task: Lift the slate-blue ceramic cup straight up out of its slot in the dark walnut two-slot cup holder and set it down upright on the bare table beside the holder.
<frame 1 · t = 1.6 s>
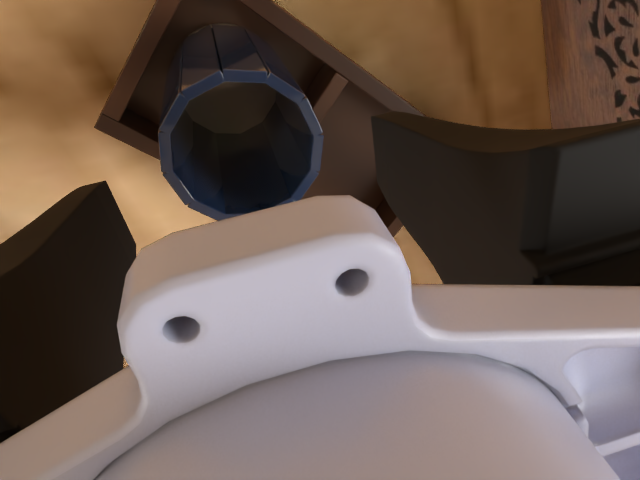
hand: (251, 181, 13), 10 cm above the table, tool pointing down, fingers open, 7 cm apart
cup: (227, 83, 21), resting on cup holder
cup holder: (290, 120, 23), on the table
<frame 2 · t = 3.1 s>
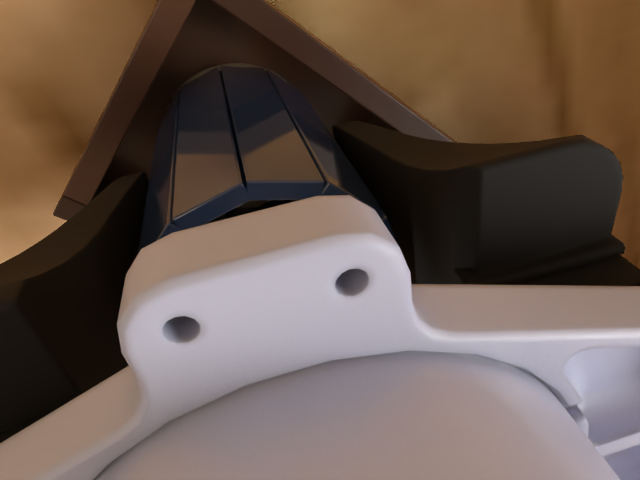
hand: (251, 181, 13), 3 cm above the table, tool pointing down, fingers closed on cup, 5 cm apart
cup: (240, 142, 15), point 1 cm above the table, touching cup holder, gripper
cup holder: (324, 184, 17), on the table
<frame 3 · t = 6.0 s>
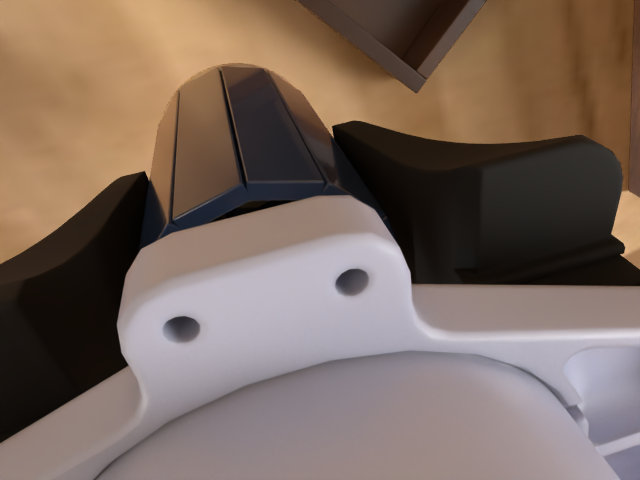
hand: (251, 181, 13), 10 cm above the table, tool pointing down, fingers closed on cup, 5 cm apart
cup: (240, 142, 15), point 7 cm above the table, touching gripper
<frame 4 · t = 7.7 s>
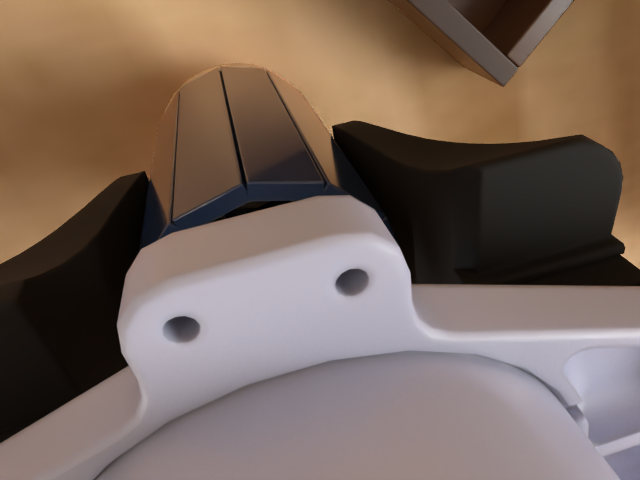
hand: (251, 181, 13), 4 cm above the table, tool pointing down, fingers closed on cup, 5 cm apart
cup: (240, 142, 15), point 1 cm above the table, touching gripper
when the fingers open (3 cm above the table, at t = 8.7 s): cup stays where it is, on the table.
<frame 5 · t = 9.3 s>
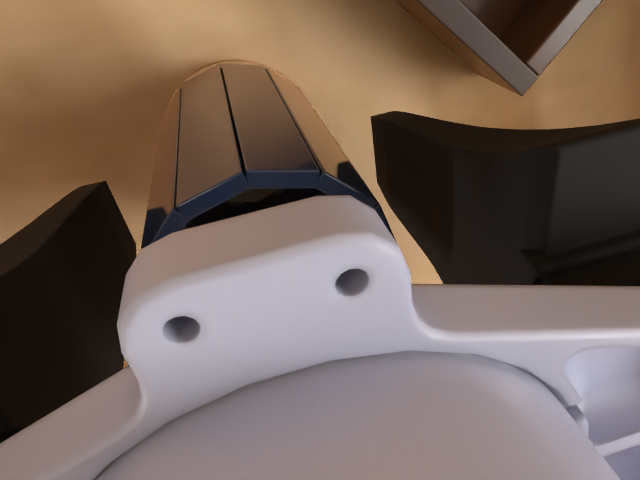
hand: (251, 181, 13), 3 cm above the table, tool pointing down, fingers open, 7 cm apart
cup: (240, 137, 16), on the table
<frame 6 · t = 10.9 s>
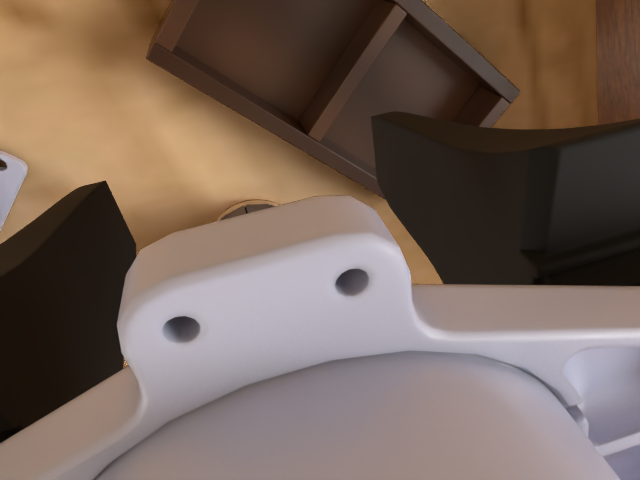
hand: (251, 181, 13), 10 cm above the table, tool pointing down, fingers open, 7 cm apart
cup: (254, 238, 26), on the table
cup holder: (339, 63, 22), on the table
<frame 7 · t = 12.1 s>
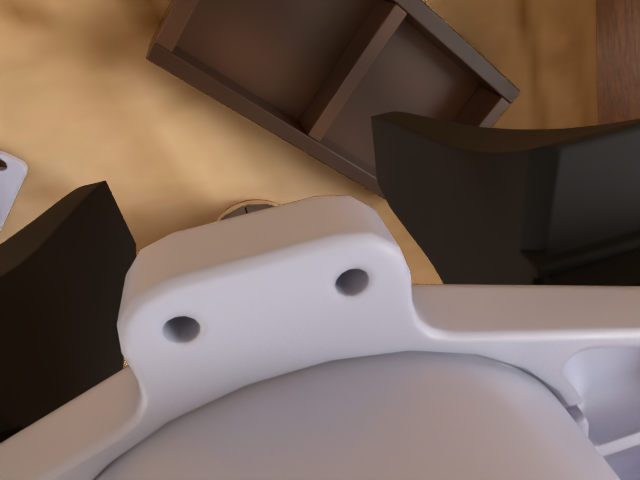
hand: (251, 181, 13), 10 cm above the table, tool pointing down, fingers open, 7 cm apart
cup: (254, 238, 26), on the table
cup holder: (339, 63, 22), on the table
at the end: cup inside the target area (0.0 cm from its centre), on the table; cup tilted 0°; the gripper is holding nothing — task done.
